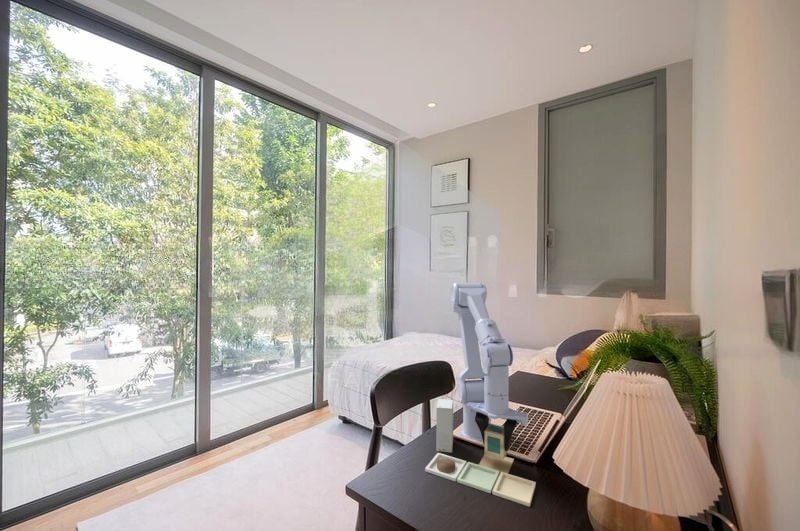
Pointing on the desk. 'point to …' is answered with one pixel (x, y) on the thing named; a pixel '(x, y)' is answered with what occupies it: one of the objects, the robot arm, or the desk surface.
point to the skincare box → (444, 425)
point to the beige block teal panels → (495, 441)
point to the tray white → (451, 476)
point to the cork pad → (497, 463)
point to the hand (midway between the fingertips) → (496, 446)
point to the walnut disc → (446, 465)
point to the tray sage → (478, 477)
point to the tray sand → (514, 488)
